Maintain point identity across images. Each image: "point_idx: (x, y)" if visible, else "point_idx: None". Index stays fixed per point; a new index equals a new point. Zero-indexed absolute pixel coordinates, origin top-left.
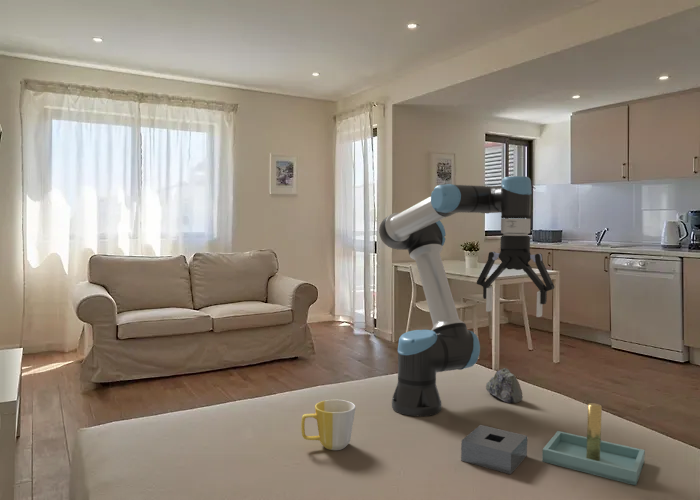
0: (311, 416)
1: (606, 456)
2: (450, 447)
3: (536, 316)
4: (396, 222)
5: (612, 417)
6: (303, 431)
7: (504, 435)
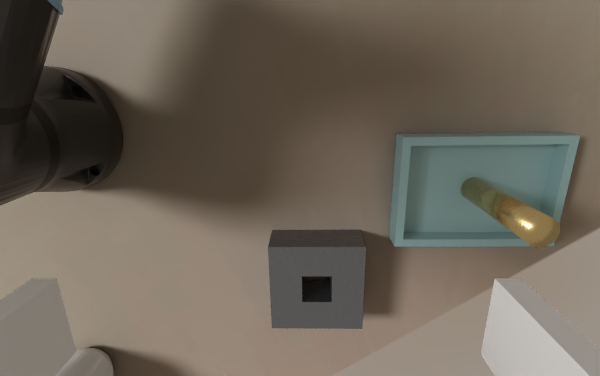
0: None
1: (495, 164)
2: (237, 271)
3: (483, 356)
4: None
5: None
6: None
7: (328, 269)
